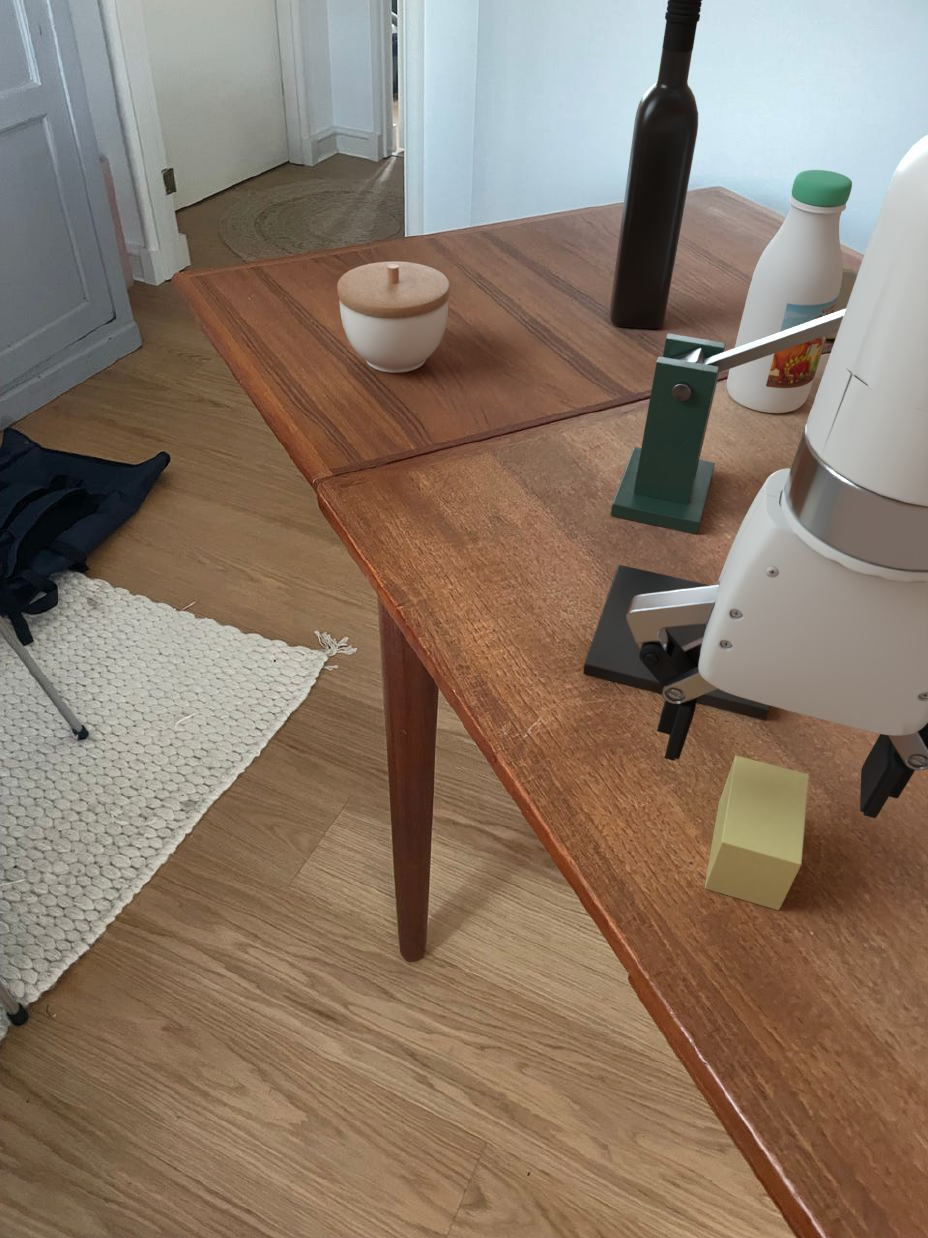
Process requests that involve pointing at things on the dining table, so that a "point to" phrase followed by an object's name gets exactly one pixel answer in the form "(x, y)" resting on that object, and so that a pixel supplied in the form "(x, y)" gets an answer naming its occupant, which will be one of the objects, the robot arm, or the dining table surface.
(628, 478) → the green lever stand
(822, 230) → the milk bottle
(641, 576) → the board
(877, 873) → the dining table surface
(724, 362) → the t-handle lever
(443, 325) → the trinket box
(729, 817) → the butter
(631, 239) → the wine bottle
